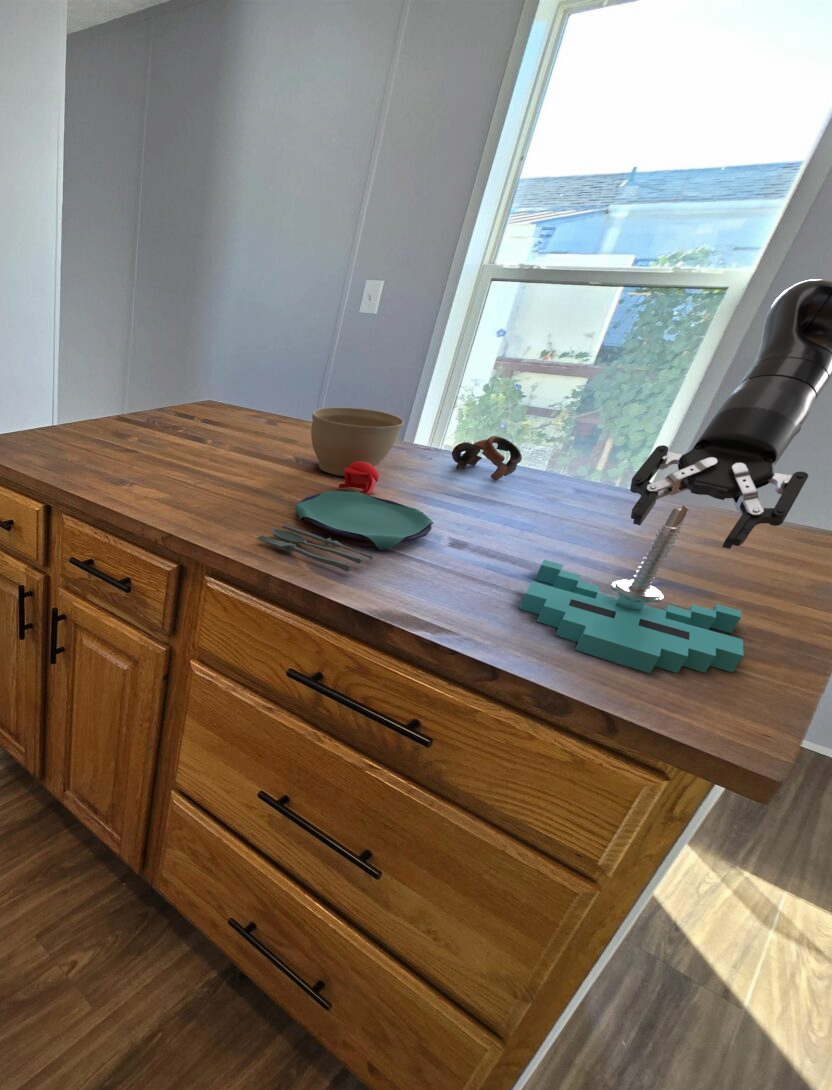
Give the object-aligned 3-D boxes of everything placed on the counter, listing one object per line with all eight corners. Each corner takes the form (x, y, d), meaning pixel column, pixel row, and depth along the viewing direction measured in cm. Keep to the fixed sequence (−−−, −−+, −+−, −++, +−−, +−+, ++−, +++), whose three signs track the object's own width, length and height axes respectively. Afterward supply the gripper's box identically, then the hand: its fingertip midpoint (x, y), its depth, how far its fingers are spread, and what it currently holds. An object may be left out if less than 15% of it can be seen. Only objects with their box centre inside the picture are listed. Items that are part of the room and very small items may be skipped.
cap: (346, 484, 124) (354, 453, 121) (379, 492, 120) (388, 460, 117) (329, 494, 119) (337, 462, 116) (363, 503, 115) (372, 470, 112)
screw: (600, 604, 80) (608, 591, 83) (651, 619, 77) (658, 606, 80) (652, 504, 73) (659, 494, 76) (709, 517, 70) (714, 506, 73)
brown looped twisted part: (483, 466, 136) (517, 437, 129) (497, 499, 131) (533, 471, 124) (433, 451, 134) (465, 421, 127) (445, 484, 129) (479, 455, 122)
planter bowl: (401, 471, 131) (417, 417, 125) (367, 490, 121) (383, 431, 116) (323, 453, 141) (335, 402, 135) (286, 469, 131) (298, 414, 126)
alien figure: (537, 573, 92) (508, 628, 79) (544, 559, 91) (515, 612, 78) (730, 626, 80) (733, 700, 67) (740, 610, 79) (745, 682, 66)
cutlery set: (449, 529, 105) (454, 516, 104) (358, 583, 89) (362, 568, 88) (333, 495, 119) (336, 482, 118) (234, 536, 102) (237, 522, 101)
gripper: (683, 394, 82) (611, 499, 82) (850, 418, 72) (769, 538, 72) (674, 430, 87) (607, 529, 87) (828, 456, 77) (753, 568, 77)
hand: (680, 533), depth 79 cm, fingers open, 8 cm apart
